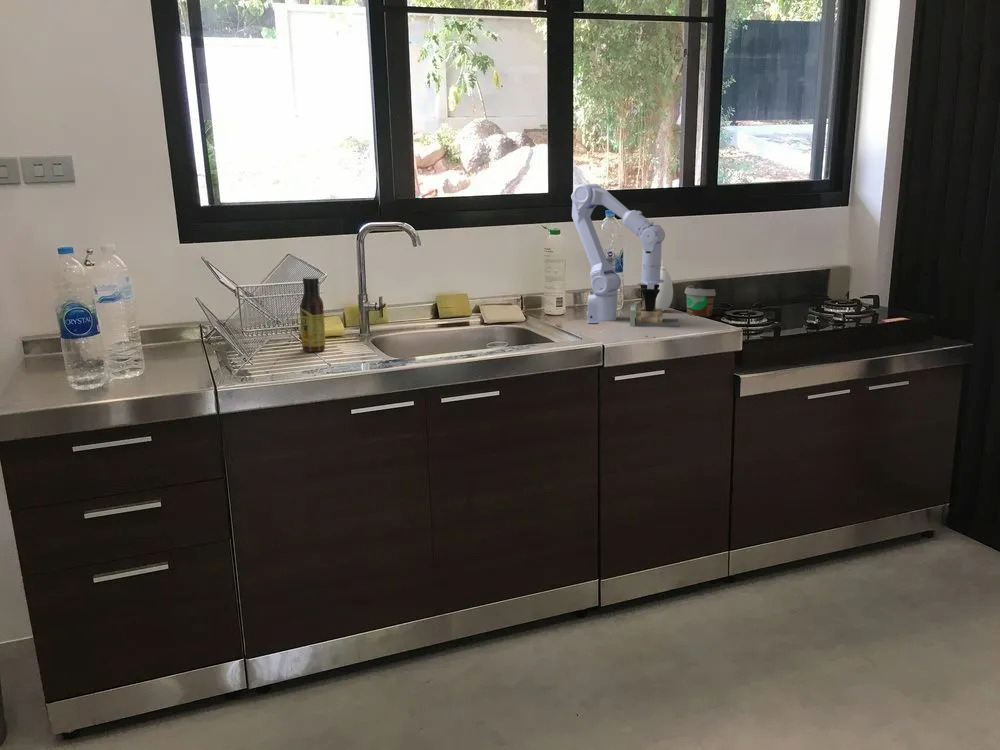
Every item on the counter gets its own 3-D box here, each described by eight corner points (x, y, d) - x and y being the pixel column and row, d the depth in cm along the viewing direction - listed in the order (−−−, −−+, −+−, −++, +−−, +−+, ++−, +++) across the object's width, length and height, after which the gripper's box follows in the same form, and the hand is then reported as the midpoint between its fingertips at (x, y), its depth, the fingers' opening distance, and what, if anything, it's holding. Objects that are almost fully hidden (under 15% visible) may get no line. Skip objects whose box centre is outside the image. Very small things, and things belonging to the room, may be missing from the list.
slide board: (629, 329, 254) (630, 310, 253) (630, 322, 266) (630, 304, 264) (679, 330, 252) (680, 311, 251) (677, 324, 264) (678, 305, 262)
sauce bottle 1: (300, 349, 227) (296, 276, 222) (323, 347, 229) (320, 275, 224) (304, 353, 221) (299, 279, 216) (327, 352, 223) (323, 278, 218)
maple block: (635, 324, 256) (636, 312, 255) (635, 320, 263) (636, 308, 262) (662, 325, 254) (662, 312, 254) (661, 321, 262) (662, 308, 261)
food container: (675, 315, 279) (677, 285, 277) (690, 314, 282) (692, 284, 279) (698, 321, 268) (700, 290, 266) (714, 319, 271) (716, 289, 268)
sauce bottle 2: (676, 312, 285) (679, 259, 281) (659, 314, 281) (661, 261, 277) (661, 309, 292) (663, 257, 287) (644, 311, 288) (646, 259, 283)
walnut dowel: (643, 320, 257) (644, 298, 255) (643, 318, 261) (644, 296, 259) (655, 321, 257) (656, 298, 255) (654, 318, 260) (655, 296, 258)
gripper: (665, 268, 247) (663, 313, 250) (663, 263, 261) (661, 306, 264) (641, 267, 248) (639, 312, 251) (641, 262, 262) (639, 305, 265)
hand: (649, 309), depth 258 cm, fingers open, 7 cm apart
